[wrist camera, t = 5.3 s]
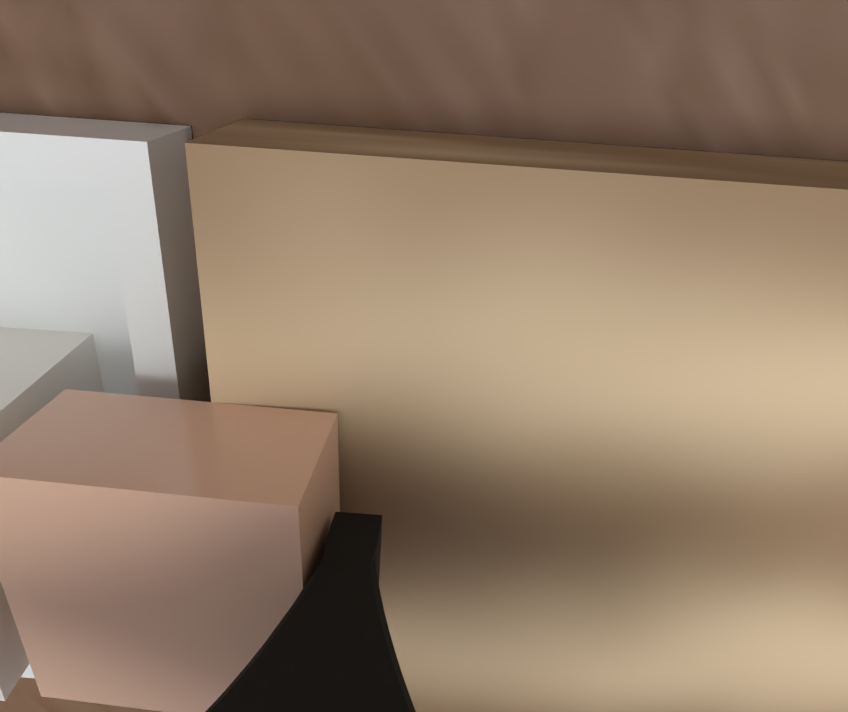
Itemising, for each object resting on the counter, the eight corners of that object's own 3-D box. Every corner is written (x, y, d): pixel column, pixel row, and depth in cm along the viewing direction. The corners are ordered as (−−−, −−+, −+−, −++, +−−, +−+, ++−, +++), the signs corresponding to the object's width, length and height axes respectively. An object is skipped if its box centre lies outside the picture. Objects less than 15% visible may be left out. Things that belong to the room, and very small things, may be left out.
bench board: (759, 667, 18) (812, 775, 16) (274, 633, 18) (245, 736, 16) (982, 171, 12) (1136, 210, 9) (242, 119, 12) (184, 142, 9)
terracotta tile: (342, 615, 13) (311, 730, 11) (114, 589, 14) (41, 696, 12) (337, 413, 11) (297, 507, 9) (65, 389, 12) (-38, 473, 9)
